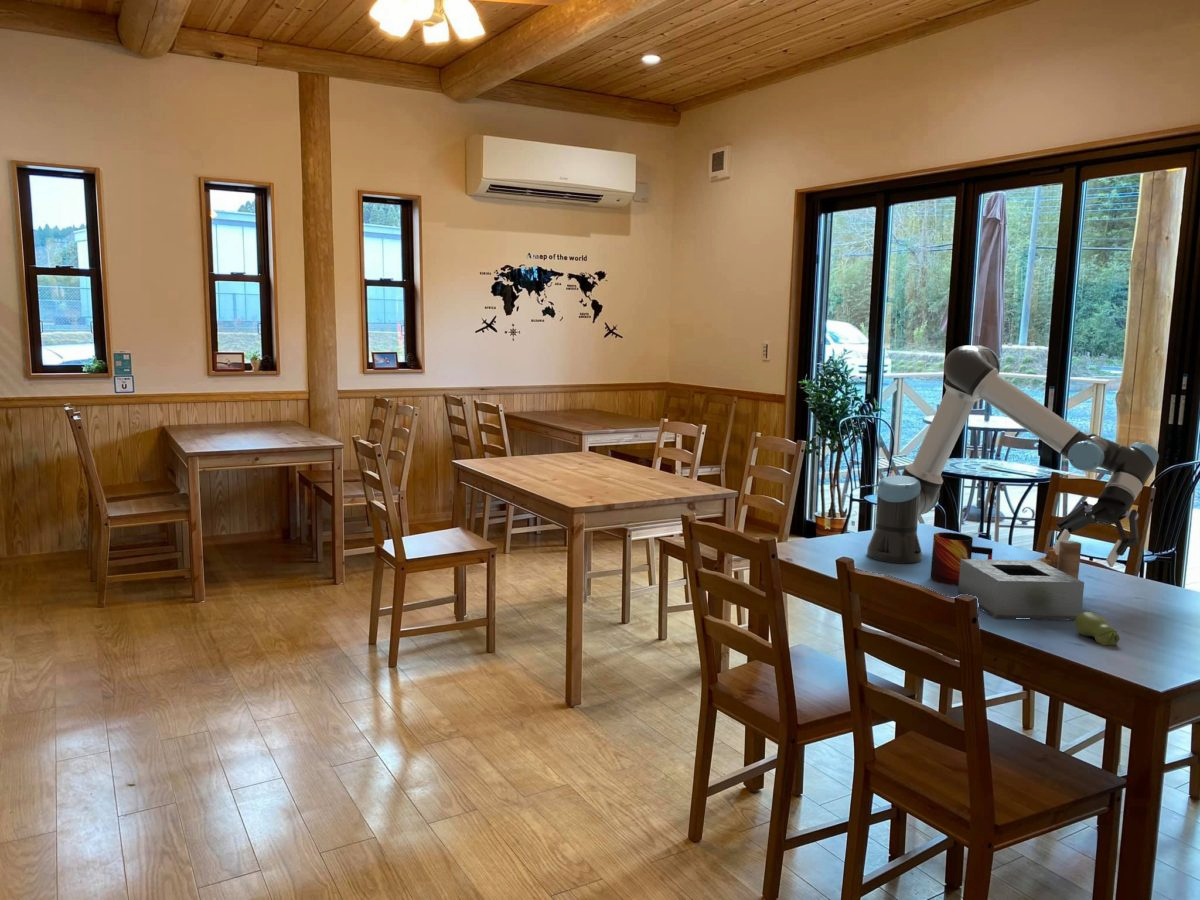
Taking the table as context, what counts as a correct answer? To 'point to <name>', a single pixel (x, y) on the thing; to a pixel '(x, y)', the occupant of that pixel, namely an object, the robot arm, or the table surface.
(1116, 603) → the table surface
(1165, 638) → the table surface
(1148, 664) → the table surface
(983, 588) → the box
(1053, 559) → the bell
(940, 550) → the mug
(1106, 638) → the pear
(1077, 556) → the peg
